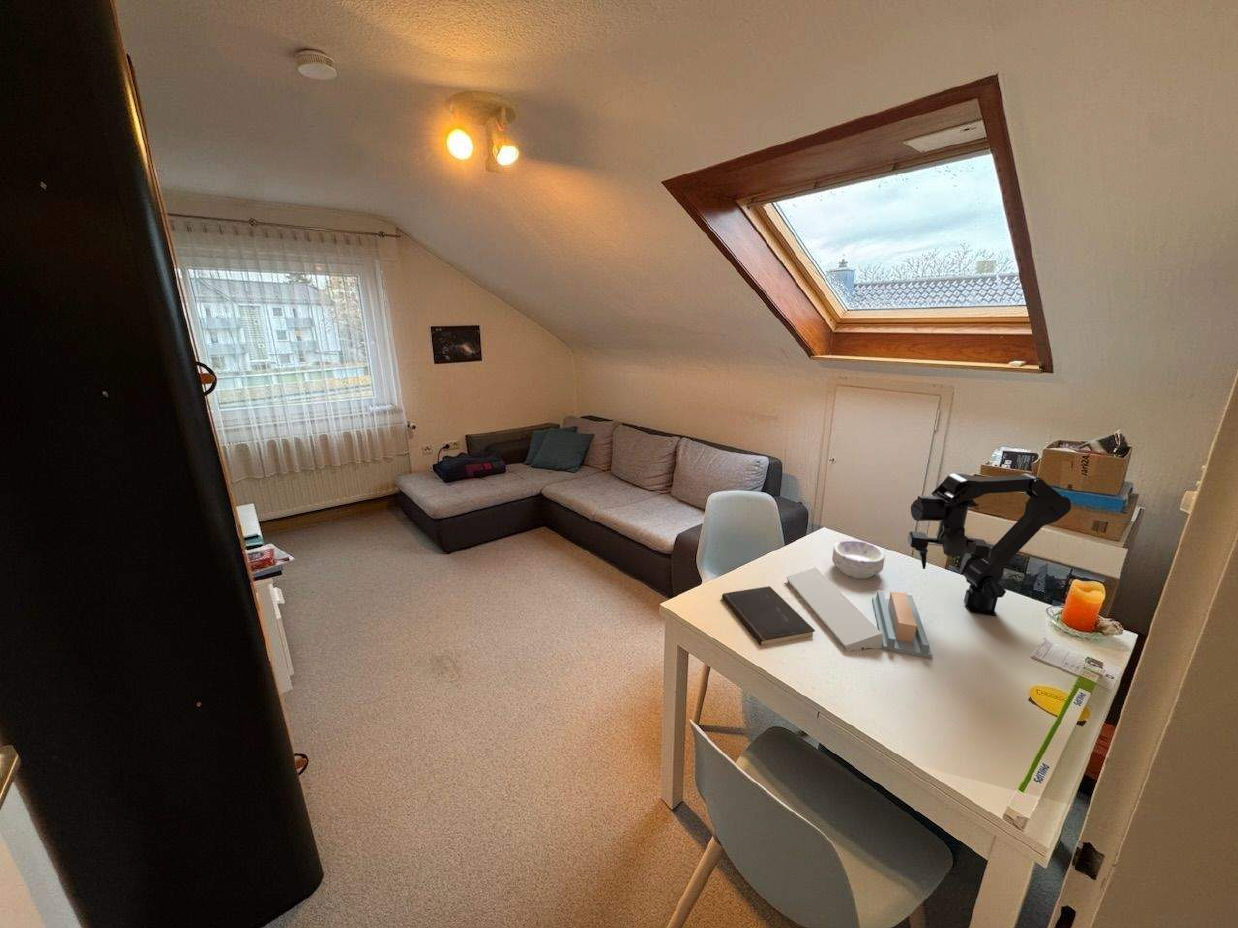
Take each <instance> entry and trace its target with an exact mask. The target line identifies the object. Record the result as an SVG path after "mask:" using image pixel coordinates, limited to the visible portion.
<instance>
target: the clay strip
mask: <svg viewBox="0 0 1238 928" xmlns="http://www.w3.org/2000/svg"><path fill="white" fill-rule="evenodd" d="M889 592H890V594H889V598H888V599H889V604H888V608H889V612H890V616H891V621H892V625H893V629H894V633H895V637H896V639H897V640H902V641H907V642H912V643H914V638H915V632H916V627H917V625H916V622H915V619H914V616H913V613H912V609H911V606H910V603H909V600H908V597H907V595H908V594H907V593H905V592H900V591H892V590H890V591H889Z"/></svg>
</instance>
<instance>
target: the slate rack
mask: <svg viewBox="0 0 1238 928" xmlns="http://www.w3.org/2000/svg"><path fill="white" fill-rule="evenodd" d="M875 596H876V597H875ZM875 596H872V597H871V601H872V604H873V605H872V606H873V610H874V615H875V619H876V625H877V629H878V630H879V631H880V632H881V633H882V635H883V642H884V644H883V646H882V648H881V649H882V650H885V651H891V652H895V653H901V654H907V655H912V656H918V657H921V658H926V659H933V652H932V649H931V647H930V643H929V640H928V637H927V634H926V630H925V628H924V625H923V623H922V618H921V617H920V614H919V612H918V611H919V610H918V609H917V608H918V607H917V605H916V604H915V603H916V602H915V600H914V598H913V595H911V594H907V597H908V600H909V603H910V606H911V609H912V613H913V616H914V619H915V622H916V625H917V627H916V632H915V638H914V643H912V642H907V641H902V640H897V639H896V637H895V633H894V629H893V625H892V621H891V616H890V612H889V608H888V604H889V598H886V597H885V593H884V591H883V590H880V589H877V591H876V595H875Z"/></svg>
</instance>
